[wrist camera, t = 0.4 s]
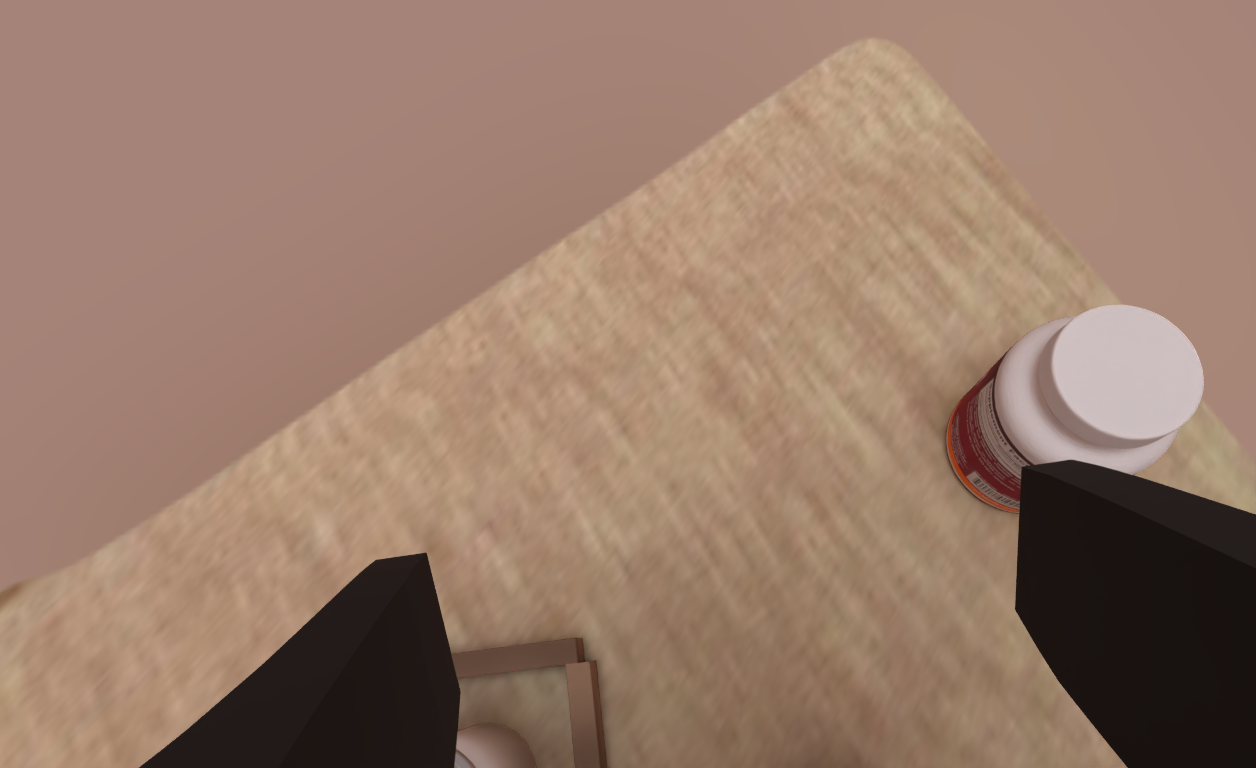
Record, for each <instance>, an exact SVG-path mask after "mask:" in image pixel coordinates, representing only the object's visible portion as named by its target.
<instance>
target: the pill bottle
mask: <svg viewBox="0 0 1256 768" xmlns="http://www.w3.org/2000/svg"><path fill="white" fill-rule="evenodd" d="M1203 388H1204V377H1203V370H1202V365H1201V362H1200V359H1199V357H1198V354H1197V352H1196V350H1195V348H1194V347H1193V345H1192V344H1191V342H1190V341H1189V340H1188V338H1187V337H1186V336H1185V335H1184V334H1183V333H1182V331H1181V330H1179V329H1178V328H1177V327H1176V326H1175V325H1174V324H1172V323H1171V322H1170V321H1168V320H1167V319H1165V318H1164V317H1162V316H1160V315H1158V314H1156V313H1154V312H1151V311H1149V310H1146V309H1143V308H1139V307H1135V306H1130V305H1106V306H1101V307H1096V308H1093V309H1090V310H1088V311H1085V312H1083V313H1081V314H1079V315H1078V316H1076V317H1067V318H1062V319H1058V320H1054V321H1051V322H1048V323H1046V324H1043V325H1041V326H1039V327H1037V328H1035V329H1033V330H1032V331H1030V332H1029V333H1027V334H1026V335H1024V336H1023V337H1022V338H1021V339H1020V340H1019V341H1017V342H1016V343H1015V344H1014V345H1013V346H1012V347H1011V348H1010V349H1009V350H1008V351H1007V352H1006V353H1005V354H1004V355H1003V356H1002V358H1001V359H1000V360H999V361H998V362H997V363H996V364H995V365H994V366H993V367H992V368H991V369H990V370H989V371H988V372H987V373H986V374H985V375H984V376H983V377H982V378H981V379H980V380H979V381H978V382H977V384H976V385H975V386H974V387H973V388H972V389H971V390H970V391H969V392H968V393H967V394H966V395H965V396H964V397H963V398H962V399H961V400H960V402H959V403H958V405H957V406H956V408H955V409H954V411H953V413H952V415H951V417H950V420H949V423H948V427H947V434H946V444H947V452H948V456H949V460H950V462H951V465H952V467H953V469H954V471H955V473H956V475H957V476H958V478H959V479H960V481H961V482H962V483H963V484H964V485H965V487H966V488H967V489H968V490H969V491H970V492H972V493H973V494H974V495H975V496H976V497H978V498H979V499H981V500H982V501H984V502H985V503H987V504H989V505H991V506H993V507H996V508H998V509H1001V510H1005V511H1008V512H1014V513H1019V511H1020V489H1021V467H1023V466H1030V465H1037V464H1044V463H1051V462H1058V461H1064V460H1077V461H1081V462H1086V463H1091V464H1095V465H1099V466H1103V467H1106V468H1110V469H1114V470H1117V471H1121V472H1124V473H1127V474H1131V475H1135V474H1137V473H1139V472H1141V471H1143V470H1144V469H1146V468H1148V467H1149V466H1151V465H1152V464H1153V463H1155V462H1156V461H1157V460H1158V459H1159V458H1161V456H1162V455H1163V454H1164V453H1165V452H1166V451H1167V450H1168V448H1169V447H1170V446H1171V444H1172V442H1173V441H1174V439H1175V437H1176V434H1177V433H1178V429H1179V428H1180V427H1182V426H1183V425H1184V424H1185V423H1186V422H1187V421H1188V420H1189V419H1190V418H1191V416H1192V415H1193V414H1194V412H1195V411H1196V409H1197V407H1198V406H1199V403H1200V400H1201V397H1202V393H1203Z"/></svg>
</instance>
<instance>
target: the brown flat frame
mask: <svg viewBox="0 0 1256 768" xmlns="http://www.w3.org/2000/svg"><path fill="white" fill-rule="evenodd" d="M451 655H452V659H453V663H454V667H455V671H456V676H457V678H463V677H471V676H479V675H487V674H494V673H502V672H510V671H518V670H526V669H534V668H542V667H550V666H557V665H565V664H566V673H567V684H568V695H569V706H570V717H571V728H572V739H573V750H574V761H575V768H607V763H606V753H605V744H604V734H603V724H602V714H601V705H600V695H599V685H598V675H597V666H596V661H589V662H585V659H584V649H583V639H582V638H571V639H563V640H555V641H548V642H540V643H532V644H524V645H516V646H509V647H501V648H493V649H485V650H478V651H470V652H462V653H454V654H451Z"/></svg>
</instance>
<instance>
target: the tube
mask: <svg viewBox="0 0 1256 768" xmlns="http://www.w3.org/2000/svg"><path fill="white" fill-rule="evenodd" d="M454 768H536V763H535V760H534V757H533V754H532V752H531V750H530V748H529V746H528V745H527V744H526V742H525V741H524V740H523V739H522V738H521V737H520V736H519V735H518V734H517V733H516V732H514V731H513V730H511V729H509V728H507V727H505V726H502V725H498V724H491V723H488V724H479V725H475V726H472V727H469V728H466V729H463V730H460V731H458V732H457V744H456V754H455V765H454Z"/></svg>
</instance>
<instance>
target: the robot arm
mask: <svg viewBox="0 0 1256 768" xmlns="http://www.w3.org/2000/svg"><path fill="white" fill-rule="evenodd" d="M1015 610H1016V612H1017V614H1018V615H1019V617H1020V619H1021V621H1022V622H1023V624H1024V626H1025V627H1026V629H1027V631H1028V633H1029V634H1030V636H1031V638H1032V639H1033V641H1034V643H1035V644H1036V646H1037V648H1038V650H1039V651H1040V653H1041V654H1042V656H1043V657H1044V659H1045V661H1046V662H1047V664H1048V665H1049V667H1050V668H1051V670H1052V672H1053V673H1054V675H1055V676H1056V678H1057V679H1058V681H1059V682H1060V684H1061V685H1062V686H1063V688H1064V689H1065V690H1066V691H1067V693H1068V694H1069V695H1070V697H1071V698H1072V699H1073V700H1074V702H1075V703H1076V704H1077V705H1078V707H1079V708H1080V709H1081V710H1082V712H1083V713H1084V714H1085V715H1086V717H1087V718H1088V719H1089V720H1090V722H1091V723H1092V724H1093V725H1094V727H1095V728H1096V729H1097V730H1098V732H1099V733H1100V734H1101V735H1102V737H1103V738H1104V739H1105V740H1106V742H1107V743H1108V744H1109V745H1110V746H1111V748H1112V749H1113V750H1114V751H1115V753H1116V754H1117V755H1118V756H1119V757H1120V759H1121V760H1122V761H1123V762H1124V764H1125V765H1126V766H1127V767H1128V768H1256V514H1252V513H1249V512H1246V511H1243V510H1240V509H1237V508H1234V507H1231V506H1227V505H1224V504H1221V503H1218V502H1215V501H1212V500H1209V499H1206V498H1203V497H1200V496H1197V495H1194V494H1190V493H1187V492H1184V491H1181V490H1178V489H1175V488H1172V487H1169V486H1166V485H1163V484H1159V483H1156V482H1153V481H1150V480H1147V479H1144V478H1141V477H1137V476H1134V475H1131V474H1127V473H1124V472H1121V471H1117V470H1114V469H1110V468H1106V467H1103V466H1099V465H1095V464H1091V463H1086V462H1081V461H1077V460H1064V461H1058V462H1051V463H1044V464H1037V465H1030V466H1023V467H1021V489H1020V511H1019V534H1018V556H1017V579H1016V601H1015ZM459 704H460V688H459V684H458V680H457V676H456V671H455V667H454V663H453V659H452V655H451V651H450V647H449V643H448V639H447V635H446V630H445V626H444V622H443V618H442V614H441V610H440V606H439V602H438V598H437V594H436V589H435V585H434V581H433V577H432V573H431V569H430V565H429V561H428V557H427V553H421V554H414V555H407V556H400V557H393V558H387V559H380V560H375V561H374V562H373V563H371V564H370V565H369V566H368V567H366V568H365V569H364V570H363V571H362V572H361V573H359V574H358V575H357V576H356V577H355V578H354V579H353V580H352V581H351V582H350V583H349V584H347V585H346V586H345V587H344V588H343V589H342V590H341V591H340V592H339V593H338V594H337V595H336V596H335V597H334V598H333V599H332V600H331V601H330V602H328V603H327V604H326V605H325V606H324V607H323V608H322V609H321V610H320V611H319V612H318V613H317V614H316V615H315V616H314V617H313V618H312V619H311V620H310V621H309V622H307V623H306V624H305V625H304V626H303V627H302V628H301V629H300V630H299V631H298V632H297V633H296V634H295V635H294V636H293V637H291V638H290V639H289V640H288V641H287V642H286V643H285V644H284V645H283V646H282V647H281V648H280V649H279V650H278V651H276V652H275V653H274V654H273V655H272V656H271V657H270V658H269V659H268V660H267V661H266V662H265V663H264V664H262V665H261V666H260V667H259V668H258V669H257V670H256V671H255V672H253V673H252V674H251V675H250V676H249V677H248V678H246V679H245V680H244V681H243V682H242V683H241V684H239V685H238V686H237V687H236V688H235V689H234V690H232V691H231V692H230V693H229V694H228V695H227V696H226V697H224V698H223V699H222V700H221V701H220V702H219V703H217V704H216V705H215V706H214V707H213V708H212V709H210V710H209V711H208V712H207V713H206V714H205V715H204V716H202V717H201V718H200V719H199V720H198V721H197V722H195V723H194V724H193V725H192V726H191V727H190V728H188V729H187V730H186V731H185V732H184V733H182V734H181V735H180V736H179V737H177V738H176V739H175V740H174V741H172V742H171V743H170V744H169V745H167V746H166V747H165V748H164V749H162V750H161V751H160V752H159V753H157V754H156V755H155V756H153V757H152V758H151V759H150V760H148V761H147V762H146V763H144V764H143V765H142V766H141V767H139V768H454V765H455V754H456V744H457V732H458V718H459Z"/></svg>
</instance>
